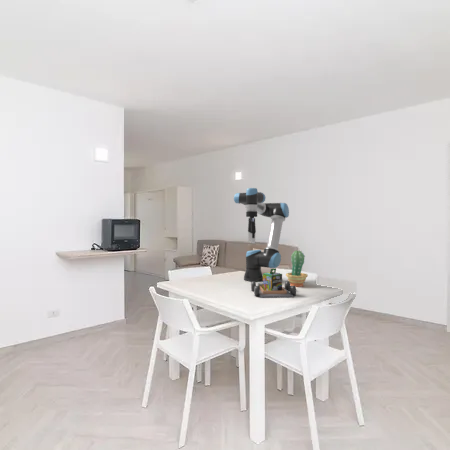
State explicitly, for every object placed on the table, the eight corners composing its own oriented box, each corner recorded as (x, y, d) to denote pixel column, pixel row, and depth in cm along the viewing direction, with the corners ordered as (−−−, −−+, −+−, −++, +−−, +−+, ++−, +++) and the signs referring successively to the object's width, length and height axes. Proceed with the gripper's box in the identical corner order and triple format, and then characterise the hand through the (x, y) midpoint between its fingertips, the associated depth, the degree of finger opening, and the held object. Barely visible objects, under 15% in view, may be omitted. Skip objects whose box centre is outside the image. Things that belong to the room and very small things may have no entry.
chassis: (250, 288, 217) (250, 280, 217) (287, 288, 218) (287, 279, 218) (256, 297, 193) (256, 287, 193) (297, 297, 194) (297, 287, 194)
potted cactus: (312, 286, 224) (312, 251, 223) (292, 288, 219) (292, 252, 219) (300, 282, 239) (300, 249, 238) (281, 283, 234) (282, 249, 233)
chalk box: (273, 289, 211) (273, 266, 211) (282, 291, 204) (282, 268, 203) (262, 290, 206) (262, 267, 206) (271, 293, 199) (271, 269, 198)
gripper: (244, 211, 228) (244, 241, 228) (248, 210, 203) (248, 243, 204) (254, 211, 228) (254, 241, 229) (260, 210, 204) (260, 243, 204)
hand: (251, 242), depth 216 cm, fingers open, 13 cm apart
